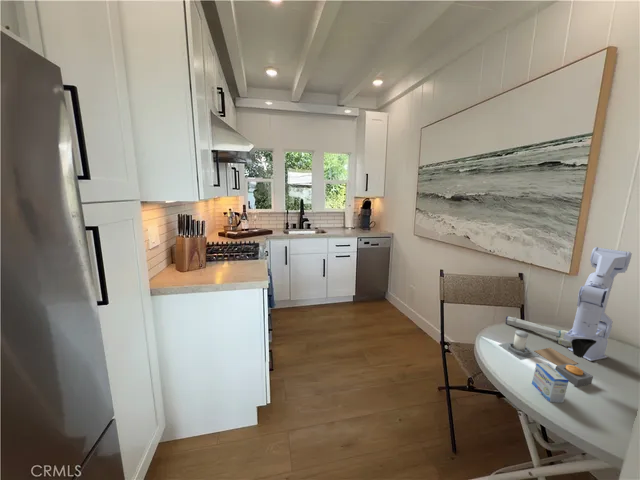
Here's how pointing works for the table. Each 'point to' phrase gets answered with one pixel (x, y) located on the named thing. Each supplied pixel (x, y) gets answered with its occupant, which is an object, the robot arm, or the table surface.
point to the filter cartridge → (520, 340)
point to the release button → (574, 370)
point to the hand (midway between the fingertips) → (577, 355)
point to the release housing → (573, 379)
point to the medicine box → (550, 382)
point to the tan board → (555, 356)
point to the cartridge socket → (519, 354)
